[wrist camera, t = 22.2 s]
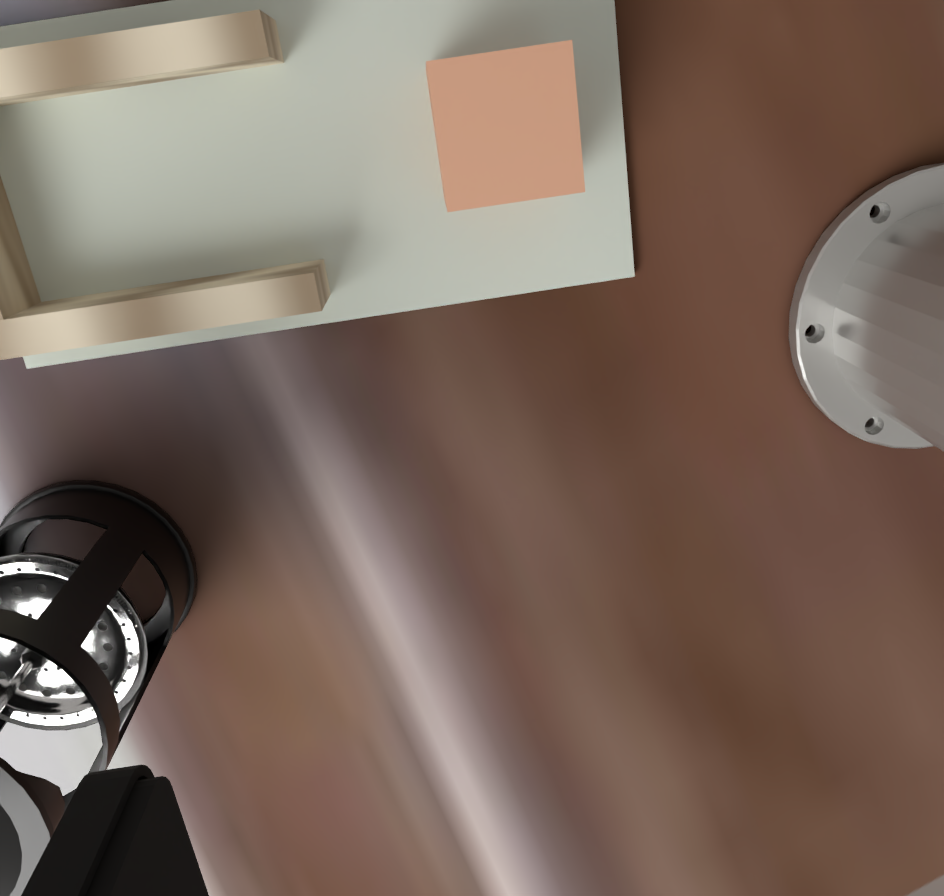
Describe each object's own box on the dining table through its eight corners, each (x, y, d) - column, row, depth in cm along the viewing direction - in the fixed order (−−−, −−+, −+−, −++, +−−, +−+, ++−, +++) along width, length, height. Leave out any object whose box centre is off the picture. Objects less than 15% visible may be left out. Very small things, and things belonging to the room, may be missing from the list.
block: (551, 51, 34) (572, 39, 29) (564, 182, 36) (585, 191, 31) (425, 69, 34) (425, 61, 29) (444, 200, 36) (447, 212, 31)
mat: (607, -65, 33) (609, -67, 33) (632, 274, 38) (634, 276, 37) (-80, 40, 33) (-85, 39, 33) (30, 366, 38) (27, 368, 37)
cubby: (275, 20, 33) (259, 9, 30) (330, 294, 37) (321, 311, 34) (-74, 73, 33) (-128, 68, 30) (17, 341, 37) (-22, 363, 34)
